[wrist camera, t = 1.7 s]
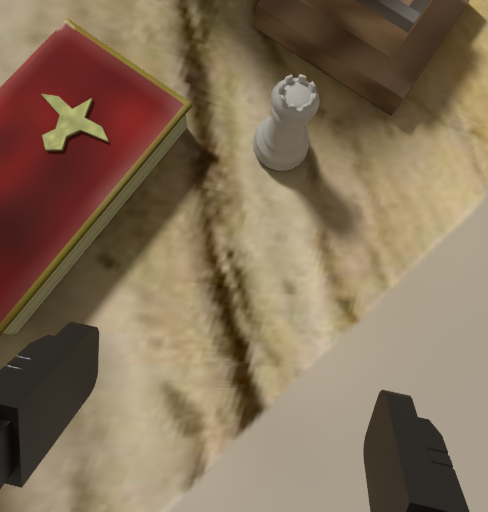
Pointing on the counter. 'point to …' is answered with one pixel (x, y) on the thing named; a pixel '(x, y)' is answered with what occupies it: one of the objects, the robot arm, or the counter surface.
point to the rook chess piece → (287, 124)
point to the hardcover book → (71, 158)
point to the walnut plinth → (362, 39)
